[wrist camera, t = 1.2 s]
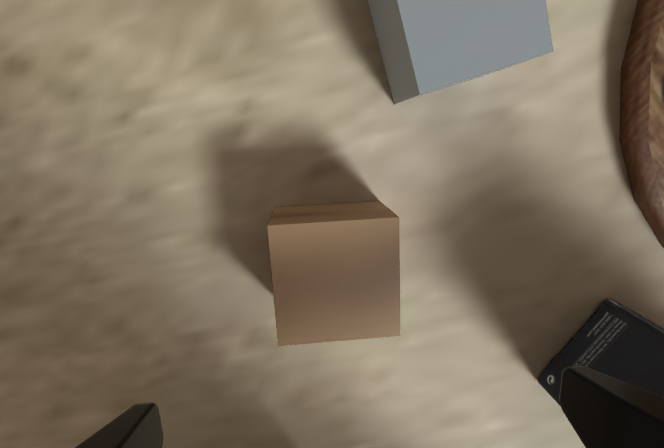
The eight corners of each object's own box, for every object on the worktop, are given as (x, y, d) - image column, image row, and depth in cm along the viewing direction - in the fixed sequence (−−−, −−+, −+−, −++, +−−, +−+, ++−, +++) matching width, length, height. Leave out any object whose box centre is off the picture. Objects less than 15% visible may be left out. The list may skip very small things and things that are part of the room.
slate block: (496, 71, 17) (553, 51, 13) (393, 104, 17) (419, 94, 13) (474, -48, 16) (529, -109, 12) (363, -13, 16) (382, -61, 12)
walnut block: (380, 295, 19) (400, 335, 15) (283, 303, 19) (278, 346, 15) (378, 200, 18) (399, 217, 14) (275, 206, 18) (267, 225, 14)
